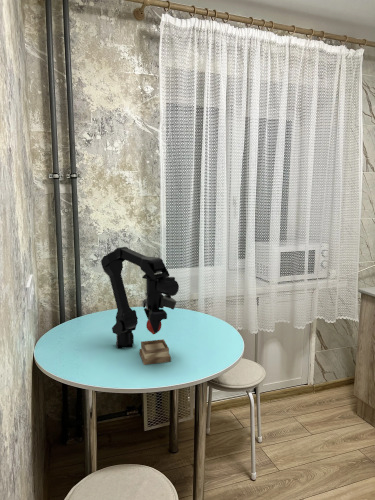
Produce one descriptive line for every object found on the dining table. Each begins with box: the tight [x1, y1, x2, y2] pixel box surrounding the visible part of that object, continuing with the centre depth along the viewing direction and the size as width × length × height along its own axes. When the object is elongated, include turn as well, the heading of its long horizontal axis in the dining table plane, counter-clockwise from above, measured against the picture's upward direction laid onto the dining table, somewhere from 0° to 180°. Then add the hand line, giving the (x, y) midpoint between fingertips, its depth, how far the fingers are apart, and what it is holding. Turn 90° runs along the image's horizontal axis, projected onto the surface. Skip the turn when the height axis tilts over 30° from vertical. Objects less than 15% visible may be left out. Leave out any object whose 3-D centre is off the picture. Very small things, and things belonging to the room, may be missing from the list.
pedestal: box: [138, 338, 172, 366], centre depth 146 cm, size 10×10×5 cm
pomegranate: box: [146, 318, 162, 335], centre depth 145 cm, size 6×6×8 cm
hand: (154, 330), depth 145 cm, fingers closed on pomegranate, 6 cm apart
